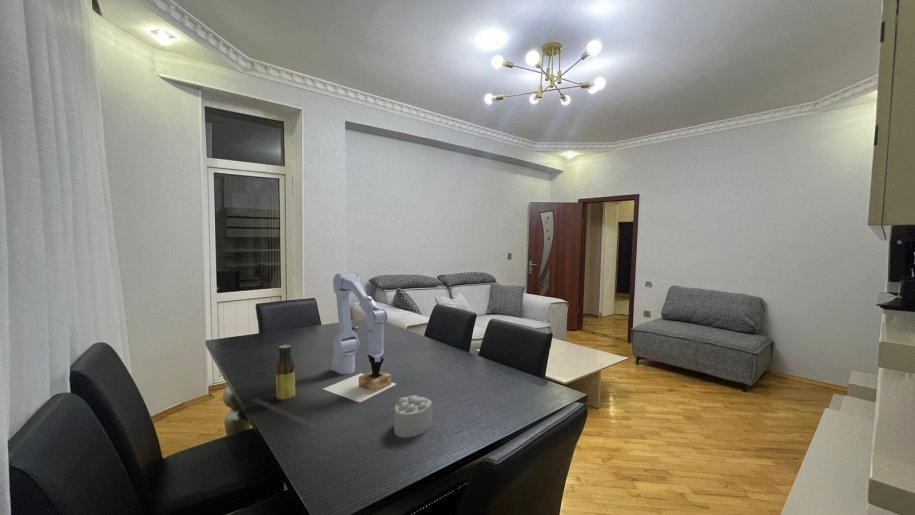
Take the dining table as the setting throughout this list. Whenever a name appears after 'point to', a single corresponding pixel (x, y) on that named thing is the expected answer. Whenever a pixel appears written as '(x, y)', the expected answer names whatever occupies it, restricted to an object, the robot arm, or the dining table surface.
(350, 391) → the board
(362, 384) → the square wooden ring
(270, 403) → the dining table surface
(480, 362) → the dining table surface
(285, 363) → the sauce bottle
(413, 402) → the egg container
